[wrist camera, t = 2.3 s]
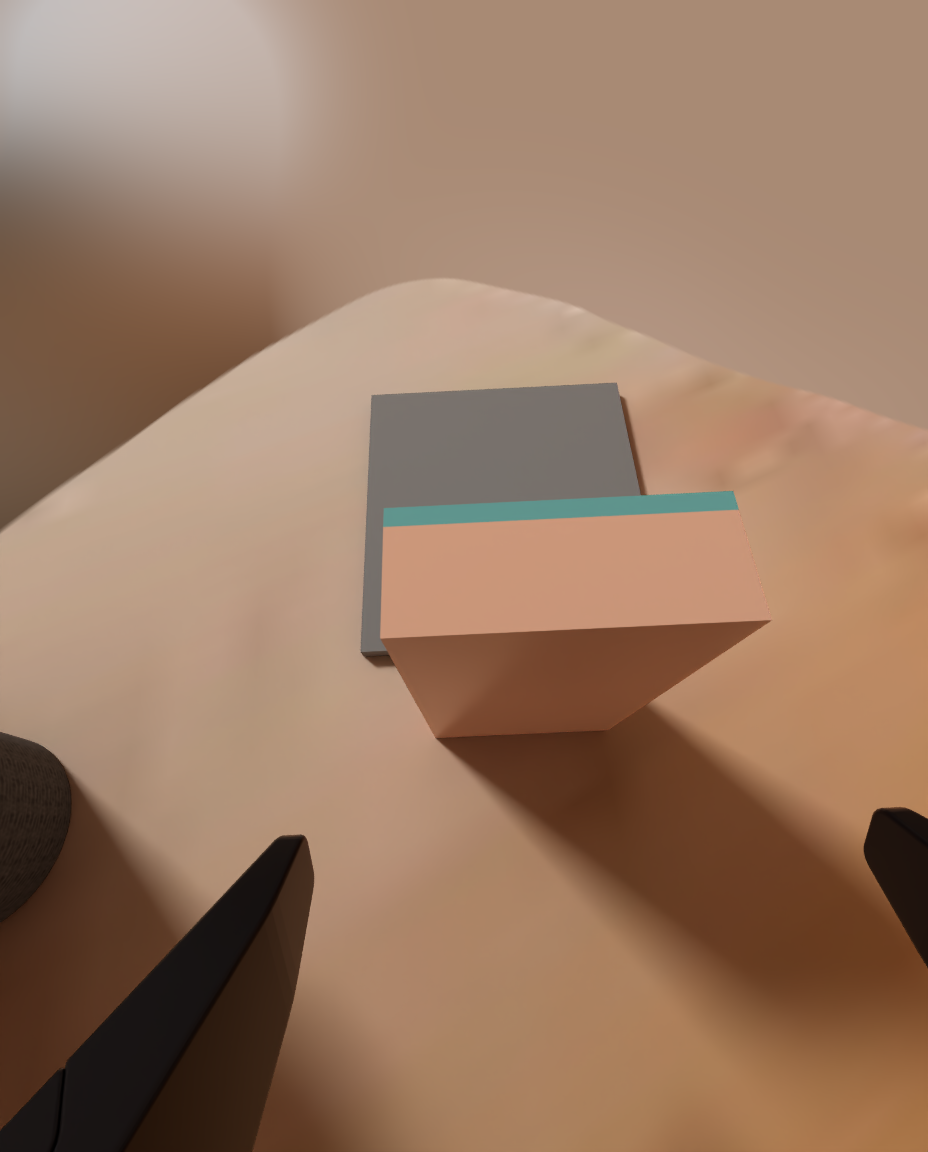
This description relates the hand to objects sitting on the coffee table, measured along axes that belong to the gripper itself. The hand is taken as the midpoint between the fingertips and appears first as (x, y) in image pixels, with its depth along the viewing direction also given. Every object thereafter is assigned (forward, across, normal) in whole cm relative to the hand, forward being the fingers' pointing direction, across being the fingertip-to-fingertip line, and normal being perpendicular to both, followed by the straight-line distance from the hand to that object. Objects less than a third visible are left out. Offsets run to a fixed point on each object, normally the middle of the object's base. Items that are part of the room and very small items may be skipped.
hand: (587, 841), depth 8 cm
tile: (+11, 0, +5) cm, 12 cm away
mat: (+17, 0, -1) cm, 17 cm away
